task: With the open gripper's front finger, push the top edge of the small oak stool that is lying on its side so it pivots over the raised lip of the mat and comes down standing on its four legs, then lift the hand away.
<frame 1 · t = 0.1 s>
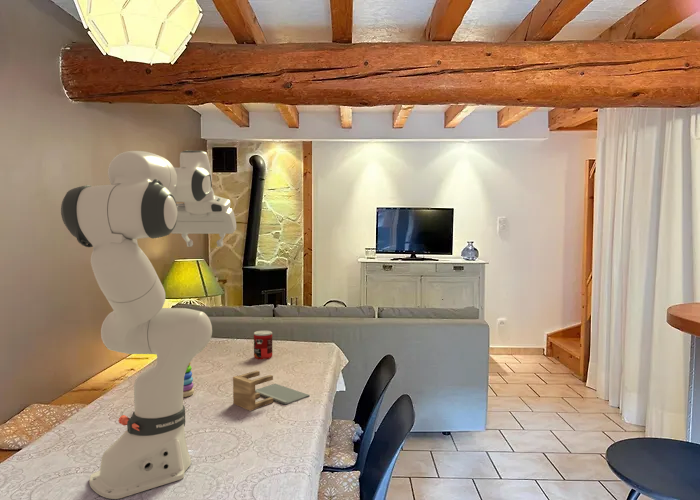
hand: (205, 246, 156), 52 cm above the table, tool tilted 20°, fingers open, 8 cm apart
canned food: (263, 357, 219), on the table
stool: (241, 393, 160), point 4 cm above the table
mat: (279, 394, 173), on the table
stacking toy: (182, 395, 172), on the table
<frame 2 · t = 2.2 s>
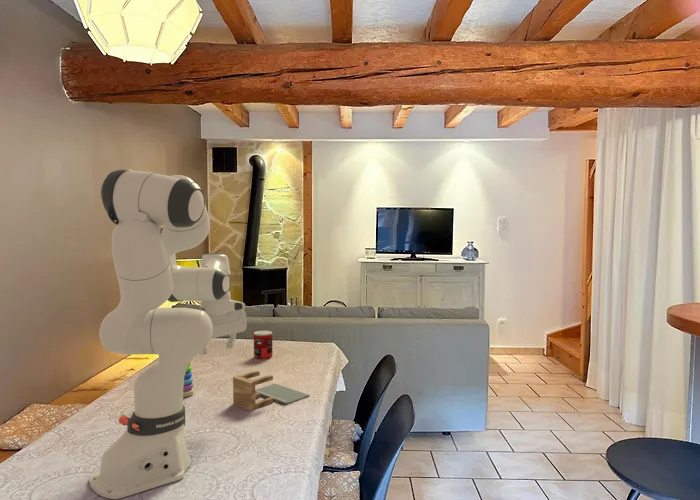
hand: (216, 351, 153), 20 cm above the table, tool pointing down, fingers open, 8 cm apart
nothing on the table moved.
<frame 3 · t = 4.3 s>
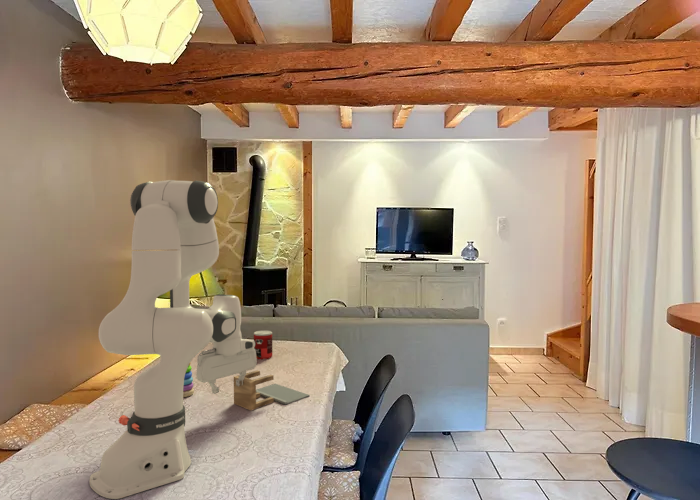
hand: (227, 389, 157), 7 cm above the table, tool pointing down, fingers open, 8 cm apart
stool: (242, 393, 161), point 5 cm above the table, touching gripper
everything else where it was.
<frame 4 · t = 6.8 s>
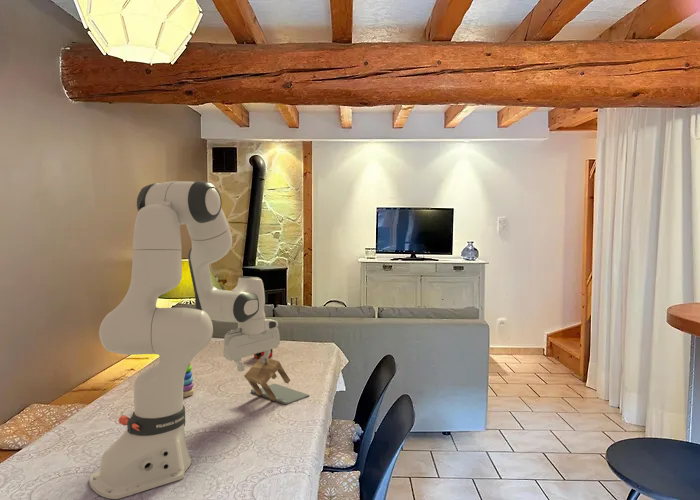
hand: (253, 366, 164), 12 cm above the table, tool pointing down, fingers open, 8 cm apart
stool: (261, 368, 166), point 11 cm above the table, tilted 56°, touching gripper, mat
everything else where it was.
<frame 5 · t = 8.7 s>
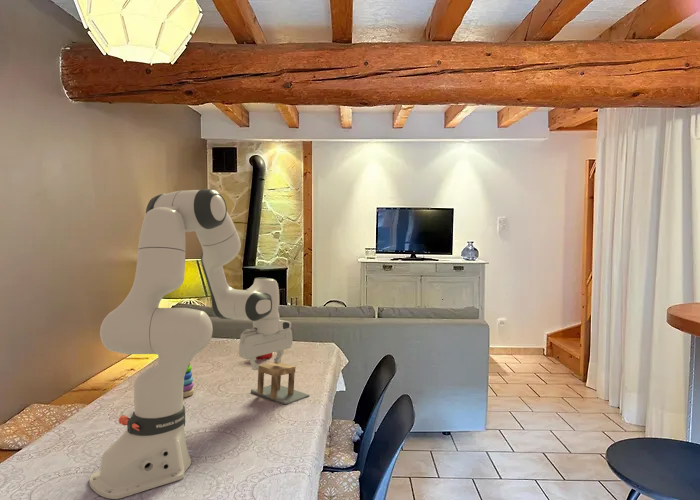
hand: (266, 366, 168), 11 cm above the table, tool pointing down, fingers open, 8 cm apart
stool: (276, 365, 171), point 10 cm above the table, tilted 95°, touching mat
everything else where it was.
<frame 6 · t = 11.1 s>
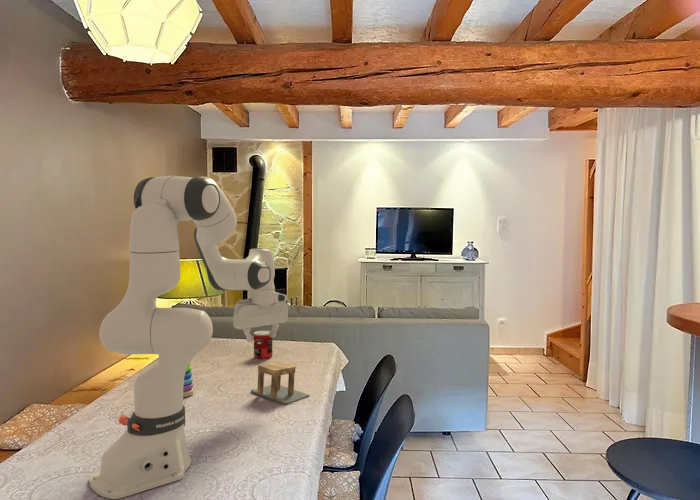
hand: (261, 339, 165), 21 cm above the table, tool pointing down, fingers open, 8 cm apart
nothing on the table moved.
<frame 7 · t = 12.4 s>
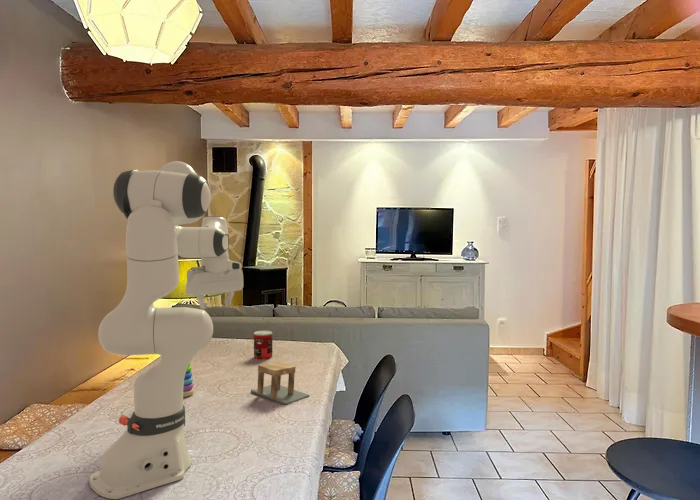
hand: (215, 306, 167), 31 cm above the table, tool pointing down, fingers open, 8 cm apart
nothing on the table moved.
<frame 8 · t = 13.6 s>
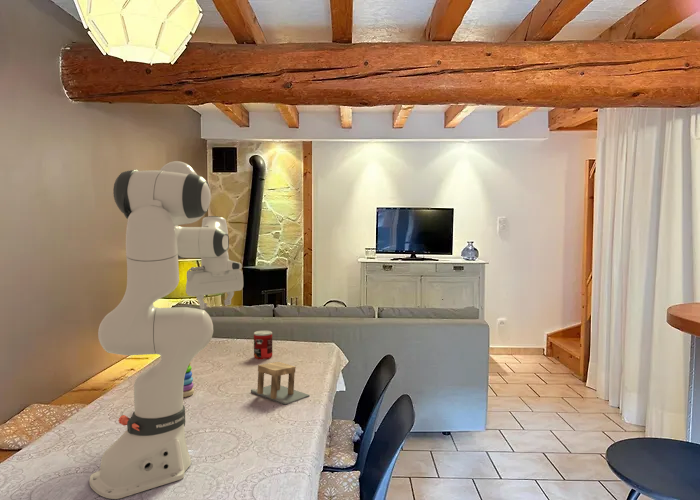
hand: (215, 306, 167), 31 cm above the table, tool pointing down, fingers open, 8 cm apart
nothing on the table moved.
at the end: stool tilted 95°; stool inside the target area (0.2 cm from its centre), point 10.2 cm above the table; the gripper is holding nothing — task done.
